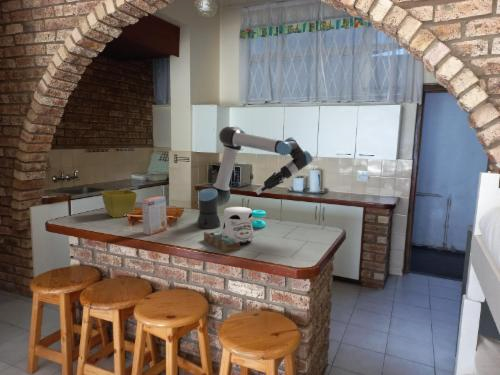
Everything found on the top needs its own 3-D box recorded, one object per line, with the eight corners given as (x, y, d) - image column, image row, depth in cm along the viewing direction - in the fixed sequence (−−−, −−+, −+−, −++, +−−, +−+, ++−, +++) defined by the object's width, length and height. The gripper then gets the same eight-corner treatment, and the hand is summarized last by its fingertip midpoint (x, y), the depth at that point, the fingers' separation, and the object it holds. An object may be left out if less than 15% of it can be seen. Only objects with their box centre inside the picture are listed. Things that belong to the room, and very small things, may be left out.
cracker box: (159, 228, 220) (158, 195, 217) (167, 230, 217) (166, 196, 214) (142, 234, 209) (141, 199, 205) (149, 235, 205) (148, 200, 202)
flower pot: (128, 211, 267) (127, 189, 264) (138, 216, 252) (137, 192, 250) (102, 214, 255) (100, 191, 252) (111, 219, 240) (109, 195, 238)
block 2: (221, 247, 187) (221, 239, 186) (226, 245, 190) (226, 237, 190) (228, 249, 184) (228, 240, 184) (233, 246, 188) (233, 238, 187)
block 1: (214, 240, 199) (214, 232, 198) (222, 240, 199) (222, 232, 198) (213, 242, 194) (213, 234, 194) (222, 242, 195) (222, 234, 194)
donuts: (252, 213, 221) (248, 209, 231) (252, 228, 223) (248, 224, 232) (268, 212, 224) (263, 209, 233) (267, 227, 225) (263, 224, 235)
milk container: (244, 248, 186) (244, 214, 183) (216, 243, 193) (216, 211, 190) (258, 239, 201) (258, 208, 198) (231, 235, 208) (231, 205, 206)
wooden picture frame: (203, 239, 199) (203, 232, 198) (218, 237, 204) (218, 229, 203) (224, 252, 179) (224, 243, 178) (240, 249, 184) (240, 241, 183)
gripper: (295, 178, 207) (262, 201, 207) (288, 171, 218) (256, 193, 218) (289, 168, 203) (256, 192, 203) (282, 162, 215) (250, 184, 215)
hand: (256, 192), depth 211 cm, fingers closed
